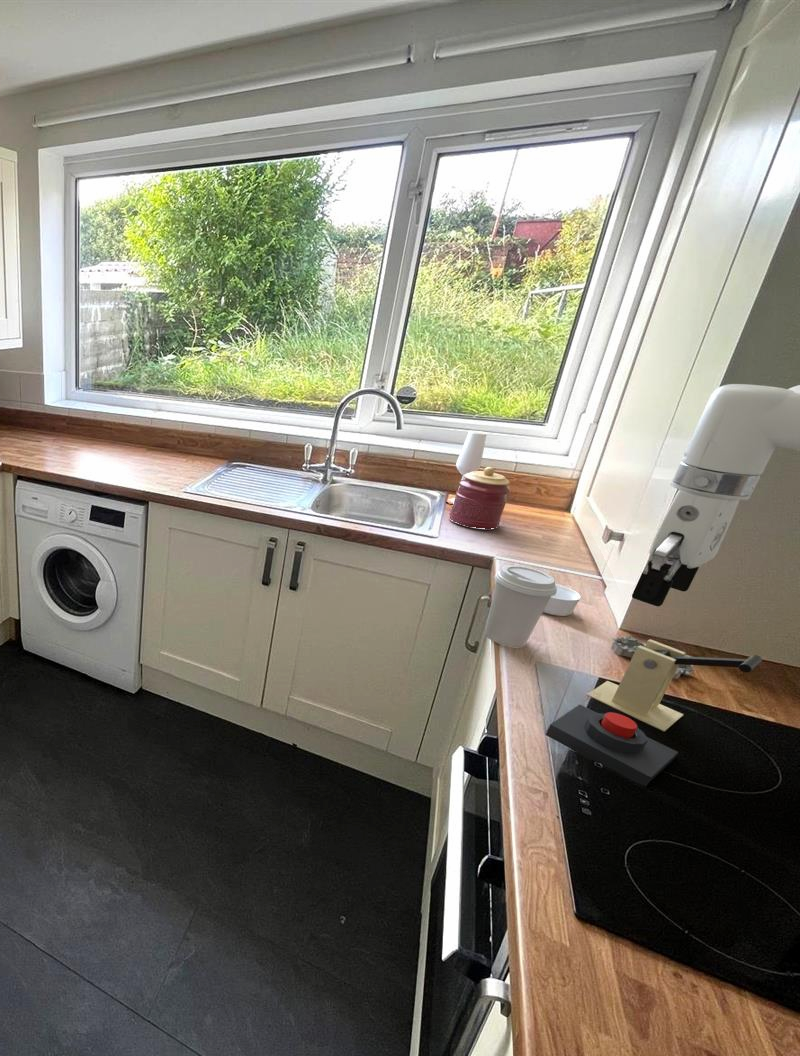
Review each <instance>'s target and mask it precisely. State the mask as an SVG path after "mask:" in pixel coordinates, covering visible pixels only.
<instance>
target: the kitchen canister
mask: <svg viewBox="0 0 800 1056" xmlns="http://www.w3.org/2000/svg"><path fill="white" fill-rule="evenodd" d="M495 471H496V470H495V469H494V467H492V466H487V467H485V468H484V470H478V471H472V472H471V473H467V474H465V475H464V476H465V479H464V480H462V479H460V480H459V482H458V484H459V486H460V488H459V487H458V490H456V492H455V496H454V498H455V500H454V503H453V505H451V510H450V511H449V517H450V519H451V520H453V521H454V522H457V523H459V524H461V525H465V526H468V527H476V528H485V529H491V528H496V527H497V528H498V527H499V525H500V523H501V521H502V517H503V516H502V515H503V513H504V509H505V506H506V505H507V503H508V499H507V496H508V494H510V493H511V488H510V487H508V485H509V484H510V483H511V482H510V480H509V479H507V478H506V477H505V476H504V475H503V474H500V473H496V472H495ZM450 519H449V520H450ZM451 520H450V521H451ZM497 528H496V529H497Z"/></svg>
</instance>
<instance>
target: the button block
mask: <svg viewBox="0 0 800 1056" xmlns="http://www.w3.org/2000/svg"><path fill="white" fill-rule="evenodd" d="M605 714H606V713H599V712H596V711H594V710H593V709H590V708H588V707H587V706H584V705H582V704H578V705H577V706H575V707H573V708H572V709H571V710H569V711H568V712H566V713H565V714H563V715H562V716H561V717H559V718H557V719H556V720H554V721H553V722H551V723H550V724H549V726H548V728H547V731H546V733H545V736H546V737H548V738H550V739H551V740H554V741H555V742H557V743H560V744H561V745H563V746H565V747H566V748H569V749H571V750H572V751H574V752H576V753H577V754H579V753H580V754H579V755H581V754H582V755H581V756H583V755H584V756H583V757H585V756H586V757H585V758H587V757H588V758H587V759H589V758H590V759H591V761H592V760H593V761H592V762H594V761H596V762H598V763H601V764H602V765H604V766H606V767H608V768H610V769H612V770H614V771H616V772H618V773H620V774H622V775H623V776H625V777H627V778H628V779H630V780H632V781H634V782H636V783H639V784H641V785H644V786H647V785H648V784H650V782H651V781H653V780H654V779H655V778H656V777H657V776H658V775H659V774H660V773H661V772H662V771H663V770H665V769H666V768H667V766H669V765H670V764H671V763H672V762H673V761H674V760H675V759H676V757H677V756H678V754H679V752H678V751H677V750H675V749H673V748H671V747H669V746H667V745H664V744H663V743H661V742H659V741H656V740H654V739H652V738H650V737H648V736H647V735H646V733H645V732H644V731H643V730H641V729H640V728H639V727H637V729H636V731H635V733H634V735H633V737H631V738H624V737H621V736H617V735H615V734H613V733H611V732H609V731H607V730H606V729H604V728H603V727H602V726H601V722H602V720H603V718H604V716H605ZM590 759H589V760H590ZM596 762H595V763H596ZM598 763H597V764H598ZM602 765H601V766H602Z"/></svg>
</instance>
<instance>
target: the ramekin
mask: <svg viewBox="0 0 800 1056" xmlns="http://www.w3.org/2000/svg"><path fill="white" fill-rule="evenodd" d="M555 585H556V588H557V593H556V594H555V595H553V596H551V598H550V599H549V601H548V603H547V605H546V607H545V609H544V611H543V612H542V614H543V613H544V614H547V615H550V616H557V617H567V616H569V615H571V614H572V613H573V612H574V610H575V608H576V606H577V604H578V603H579V602H580V600H581V599H582V596H581V594H580V593H578V592H577V591H575V590H574V589H572V588H570V587H567V586H564V585H561V584H559V583H555Z"/></svg>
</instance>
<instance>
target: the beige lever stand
mask: <svg viewBox="0 0 800 1056" xmlns="http://www.w3.org/2000/svg"><path fill="white" fill-rule="evenodd" d="M653 650H665V651H670V655H671V656H683V657H684V656H685V654H687V652H685V651H682V650H680V649H678V648H674V647H672V646H669V645H666V644H664V643H661V642H659V641H656V640H654V639H651V638H649V639H648V640H647V641H646V645H645V647H643V646H638V647H637V649H636V651H635V653H634V655H633V657H632V658H630V662H629V664H628V665H627V667H626V670H625V672H624V674H623V676H622V679H621V680H620V682H619V684H616V683H614V682H611V681H609V680H606V681H605V682H603V683H602V684H600V685H598V686H597V687H596V688H594V689H593V690H591V691H589V692H588V693H587V694H586V696H588V697H590V698H592V699H594V700H596V701H598V702H600V703H602V704H604V705H607V706H609V707H611V708H613V709H615V710H618V711H619V712H622V713H623V714H626V715H628V716H630V717H632V718H635V719H636V720H638V721H641V722H643V723H645V724H647V725H649V726H651V727H653V728H656V729H658V730H660V731H662V732H663V733H664V732H666V731H667V730H668V729H669V728H670V727H671V726H673V725H674V724H675V723H676V722H678V720H680V719H681V718H682V717H684V715H685V714H684V713H681V712H679V711H677V710H675V709H673V708H670V707H668V706H666V705H663V704H662V703H661V702H662V700H663V698H664V695H665V694H666V692H667V690H668V689H669V686H670V684H671V683H672V681H673V679H674V678H673V677H674V675H675V673H676V671H677V669H678V667H679V665H680V664H674V663H675V661H676V659H673V658H671V657H668V656H666V655H663V654H661V653H658V652H656V651H653Z"/></svg>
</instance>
